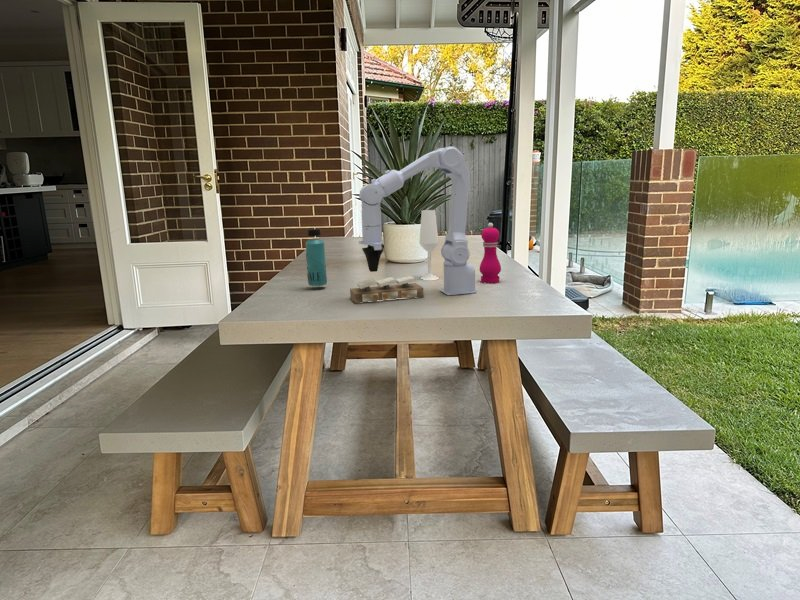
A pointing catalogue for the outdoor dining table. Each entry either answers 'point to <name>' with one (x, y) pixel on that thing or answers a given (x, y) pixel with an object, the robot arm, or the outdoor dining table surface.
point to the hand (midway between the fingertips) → (373, 271)
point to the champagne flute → (428, 237)
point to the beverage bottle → (315, 260)
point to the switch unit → (386, 292)
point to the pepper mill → (490, 256)
